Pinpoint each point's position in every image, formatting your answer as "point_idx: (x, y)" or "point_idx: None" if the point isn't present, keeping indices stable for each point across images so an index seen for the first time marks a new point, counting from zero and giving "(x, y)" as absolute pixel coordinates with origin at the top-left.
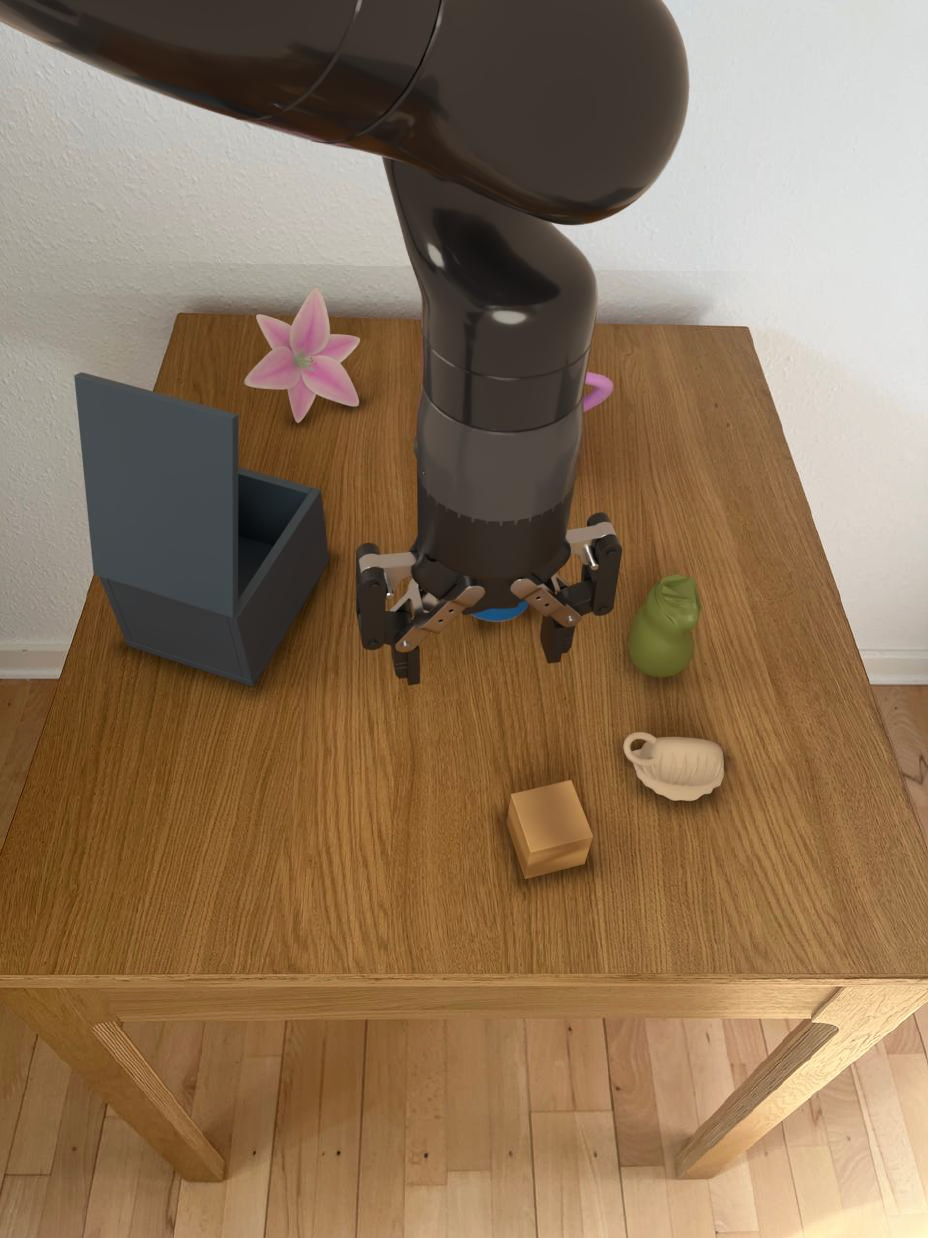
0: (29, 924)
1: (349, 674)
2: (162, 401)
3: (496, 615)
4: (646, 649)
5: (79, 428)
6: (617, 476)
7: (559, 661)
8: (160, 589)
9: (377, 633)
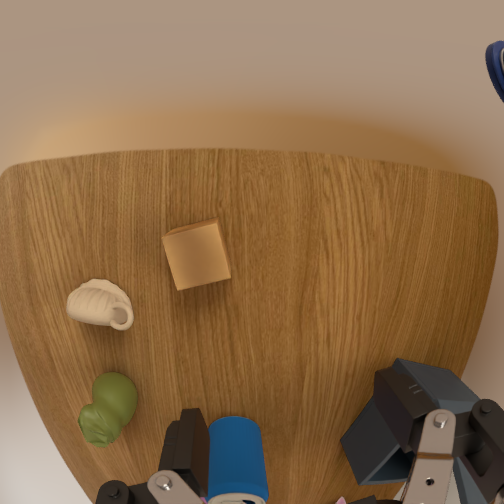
0: (491, 205)
1: (338, 374)
2: None
3: (233, 420)
4: (120, 394)
5: None
6: None
7: (183, 410)
8: (468, 404)
9: (492, 425)
